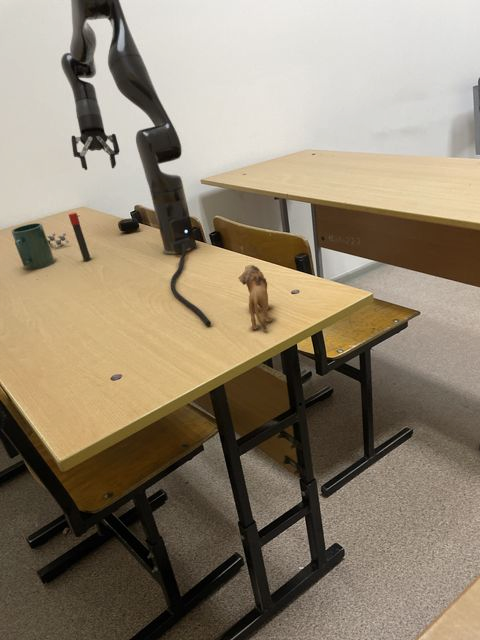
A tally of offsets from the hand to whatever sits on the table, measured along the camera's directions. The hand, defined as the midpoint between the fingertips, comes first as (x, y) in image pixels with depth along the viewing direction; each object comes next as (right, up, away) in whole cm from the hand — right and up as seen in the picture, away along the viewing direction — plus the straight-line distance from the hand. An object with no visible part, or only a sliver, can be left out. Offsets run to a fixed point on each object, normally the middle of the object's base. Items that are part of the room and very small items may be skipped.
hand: (99, 168), depth 170 cm
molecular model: (-18, -24, +7) cm, 31 cm away
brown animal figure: (+52, -52, -64) cm, 97 cm away
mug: (-16, -33, -10) cm, 38 cm away
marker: (0, -31, -12) cm, 34 cm away
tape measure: (+7, -16, +10) cm, 20 cm away
